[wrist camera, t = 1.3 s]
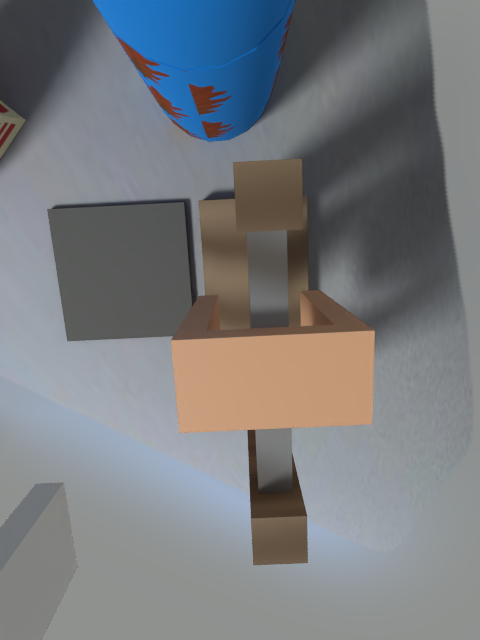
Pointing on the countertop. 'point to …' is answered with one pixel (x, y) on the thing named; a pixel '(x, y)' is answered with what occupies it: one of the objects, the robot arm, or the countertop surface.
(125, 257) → the mat
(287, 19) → the thermos
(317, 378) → the orange arch block
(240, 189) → the stand
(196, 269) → the countertop surface
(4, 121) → the milk carton
